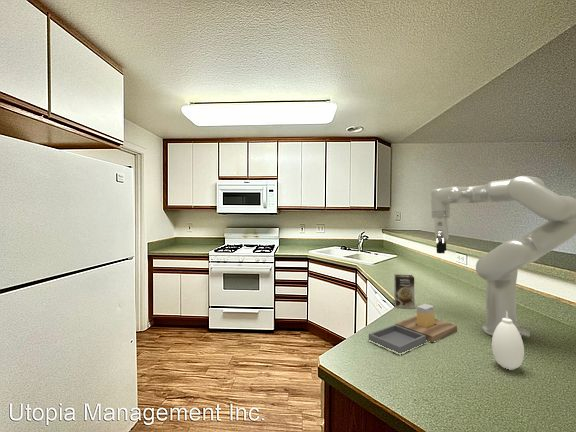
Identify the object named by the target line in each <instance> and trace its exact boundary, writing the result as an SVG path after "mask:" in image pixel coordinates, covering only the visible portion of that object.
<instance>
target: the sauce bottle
mask: <svg viewBox="0 0 576 432" xmlns="http://www.w3.org/2000/svg"><path fill="white" fill-rule="evenodd" d="M512 322H513V321H512V320H511V319H509V318H508V312H507V311H506V318H502V321H501V322H500V323H499V324H498V326H497V327H496V329H495V331H494V334H493V336H492V337H491V338H492V339H491V350H492V354H493V358H494V359H495V361H496V363H497V364H499V365H500V366H501V367H502V368H503V369H505V368H506V369H505V370H507V369H509V370H508V371H513V370H515V369H517V368H519V367H520V366H521V365H522V364H523V361H524V356H525V345H524V341H523V339H522V337H521V335H520V333H519V331H518V329H517V328H516V326H515V325H514V324H513V323H512Z"/></svg>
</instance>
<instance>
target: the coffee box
mask: <svg viewBox="0 0 576 432" xmlns="http://www.w3.org/2000/svg"><path fill="white" fill-rule="evenodd" d="M393 275H394V282H393V283H394V286H393V287H394V291H393V292H394V307H395V308H396V309H410V310H415V277H414V276H413V275H412V274H393Z"/></svg>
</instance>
